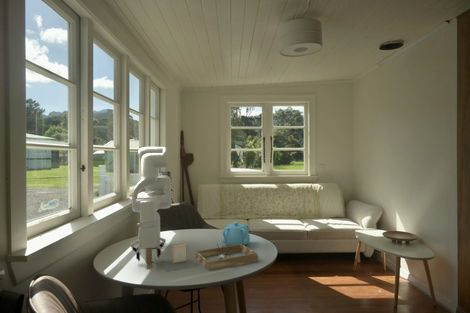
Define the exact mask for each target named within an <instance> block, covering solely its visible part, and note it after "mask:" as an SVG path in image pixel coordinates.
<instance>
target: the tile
mask: <svg viewBox="0 0 470 313" xmlns="http://www.w3.org/2000/svg"><path fill="white" fill-rule="evenodd" d="M187 251H188V250H187V244H179V245H173V246H171V257H172V259H171V262H172V263H178V262H184V261H187V259H188V252H187Z"/></svg>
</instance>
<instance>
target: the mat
mask: <svg viewBox="0 0 470 313" xmlns="http://www.w3.org/2000/svg"><path fill="white" fill-rule="evenodd" d="M160 266H162V268H163V269H164V271H165V272H166V273H167V272H173V271H179V270H184V269H189V268H195V267H199V266H200V264H199V263H197V262H196V261H195V259H194V258H192V257H191V258H187V261H184V262H178V263H172V261H169V262H163V263H160Z"/></svg>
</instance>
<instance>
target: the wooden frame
mask: <svg viewBox="0 0 470 313" xmlns="http://www.w3.org/2000/svg"><path fill="white" fill-rule="evenodd" d="M218 247H219V248H218ZM218 247H215V248H208V249H202V250H197V251H195V253H194V255H195V259H196V260H197V261H198V262H199V264H201V265H202V266H203V267H204V268H205V269H206V270H207V271H210V270H215V269H222V268H225V267H235V266H242V265H245V264H251V263H257V262H259V256H258V254H259V253H258V252H256V251H254V250H253V249H251V248H249V247H248V246H247V245H246V246H244V245H242V244H237V245H231V246H228V245H226V246H223V254H224V255H225V254H226V253H227V252H228V251H229V250H230V251H229V252H228V253H227V254H226V255H230V254H234V253H235V252H236V253H242V254H243V255H238V256H233V257H228V258H227V257H226V259H221V260H217V259H216V260H212V261H209V260H208V259H206V257H207V258H208V257H212V256H217V257H218V256H219V255H221V254H222V246H218ZM219 250H220V251H219ZM240 251H241V252H240ZM220 253H221V254H220ZM226 255H225V256H226Z"/></svg>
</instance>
